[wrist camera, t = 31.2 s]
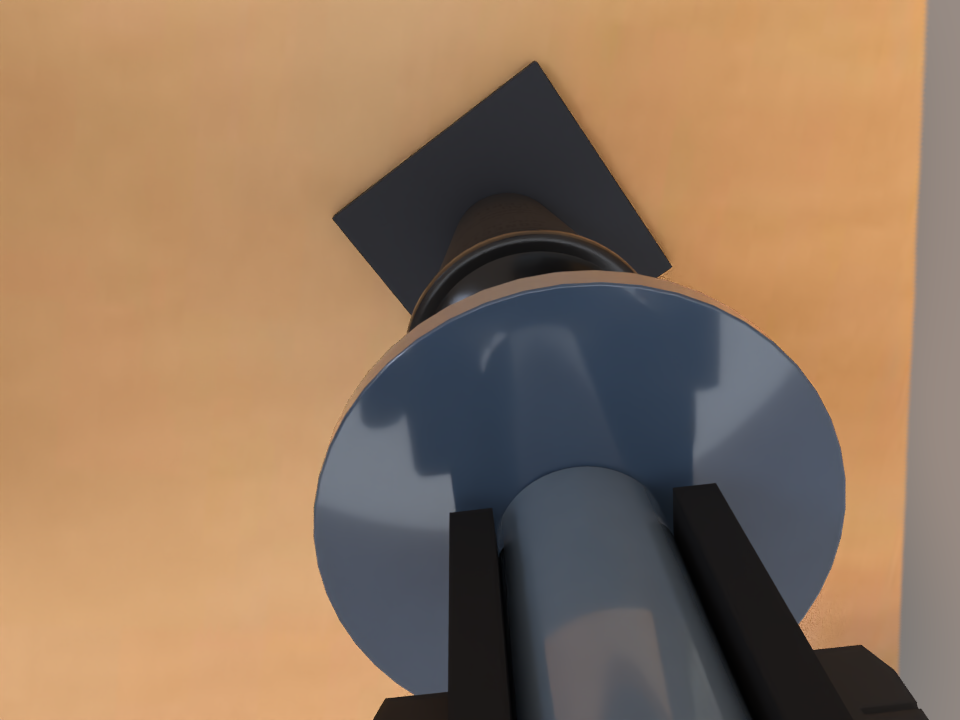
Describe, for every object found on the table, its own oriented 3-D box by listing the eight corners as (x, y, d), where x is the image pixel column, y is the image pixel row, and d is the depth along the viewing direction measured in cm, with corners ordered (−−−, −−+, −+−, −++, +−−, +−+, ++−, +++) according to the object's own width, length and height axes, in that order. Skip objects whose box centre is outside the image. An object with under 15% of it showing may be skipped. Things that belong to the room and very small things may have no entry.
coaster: (333, 215, 36) (331, 218, 35) (534, 60, 33) (536, 60, 33) (478, 393, 39) (479, 398, 39) (669, 263, 37) (672, 267, 36)
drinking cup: (488, 122, 34) (532, 231, 15) (625, 226, 36) (813, 437, 17) (387, 264, 36) (319, 511, 17) (521, 355, 38) (589, 665, 19)
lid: (210, 473, 15) (-43, 930, 7) (659, 151, 13) (954, 322, 5) (514, 772, 18) (559, 1307, 11) (912, 552, 16) (1320, 1017, 9)
